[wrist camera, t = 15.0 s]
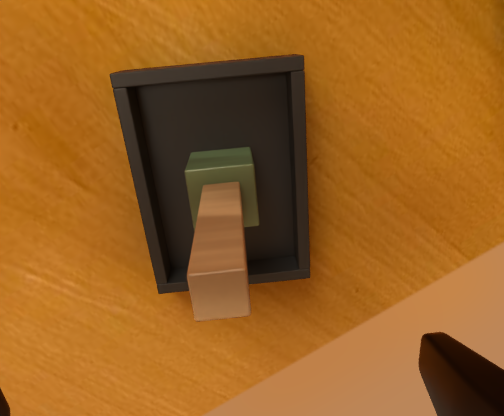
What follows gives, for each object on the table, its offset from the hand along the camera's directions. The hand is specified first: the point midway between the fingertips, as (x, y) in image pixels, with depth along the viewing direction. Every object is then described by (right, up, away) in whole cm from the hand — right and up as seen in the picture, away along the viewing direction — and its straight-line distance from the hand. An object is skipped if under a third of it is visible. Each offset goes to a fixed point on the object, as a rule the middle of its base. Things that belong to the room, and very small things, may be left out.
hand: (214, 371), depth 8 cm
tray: (-1, +5, +12) cm, 13 cm away
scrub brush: (-1, +5, +11) cm, 13 cm away
